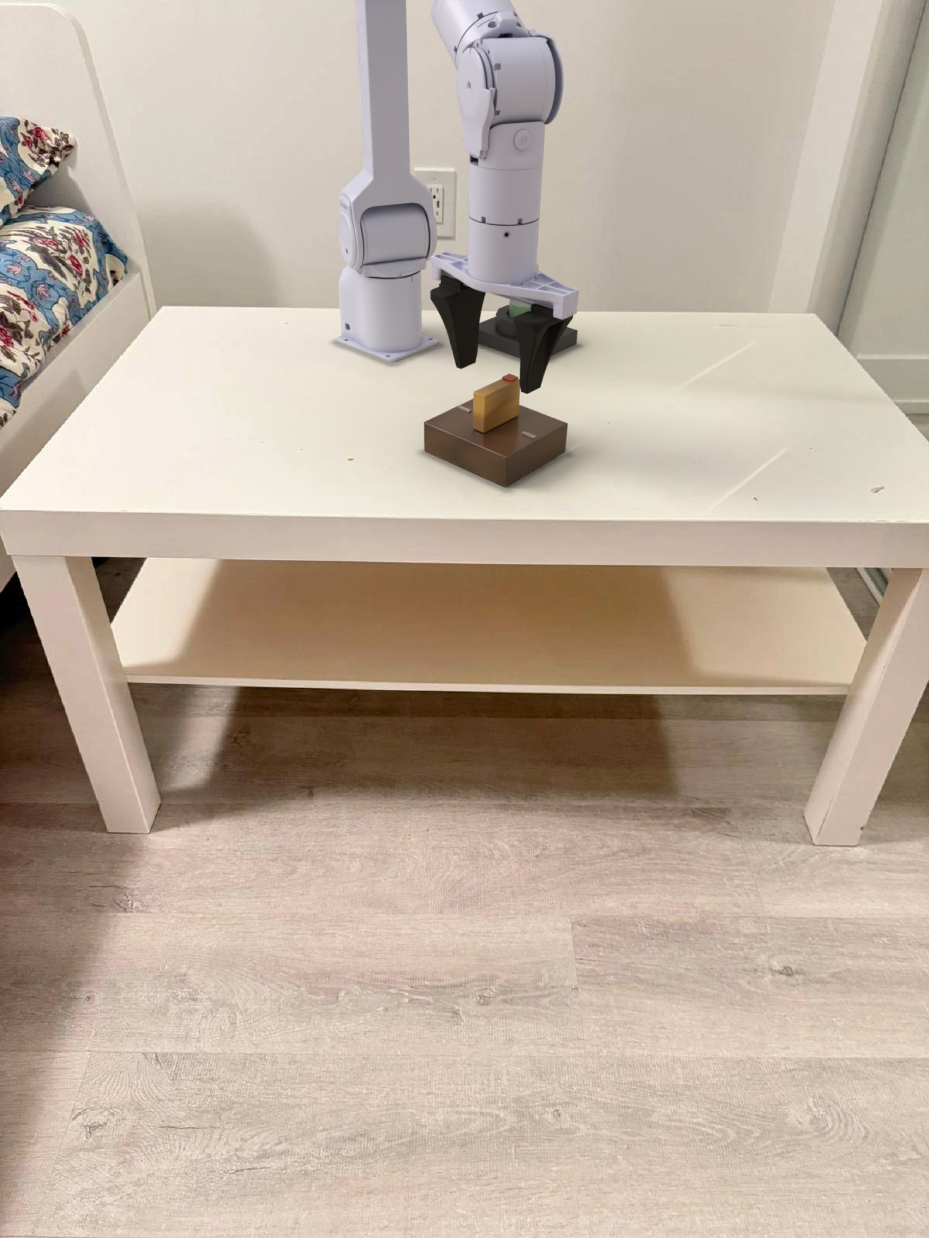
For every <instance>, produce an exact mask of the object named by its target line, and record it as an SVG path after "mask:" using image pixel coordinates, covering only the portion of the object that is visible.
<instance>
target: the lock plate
mask: <svg viewBox="0 0 929 1238" xmlns="http://www.w3.org/2000/svg"><path fill="white" fill-rule="evenodd" d="M568 427H569V423H568V422H566V421H563V420H560V419H558V418H555V417H552V416H550V415H547V414H545V413H542V412H539V411H537V410H534V409H532V408H529V407H526V406H524V405H521V404H519V415H518V416H516V417H514V418H512V419H510V420H508V421H507V422H505V423H503V424H501V425H499V426H497V427H495V428H493V429H491V430H489V431H487V432H485V433H483V432H480V431H478V430H476V429H473V398H471V399H469V400H467V401H465V402H463V403H460V404H458V405H456V406H454V407H452V408H450V409H448V410H446V411H444V412H442V413H440V414H437V415H435V416H434V417H432V418H429V419H428V420H426V421H424V422H423V447H424V448H423V450H424V452H426V453H428V454H431V455H432V456H435V457H437V458H439V459H442V460H444V461H446V462H448V463H450V464H453V465H455V466H457V467H459V468H461V469H464V470H466V471H468V472H471V473H473V474H474V475H475V474H476V475H477V476H479V477H482V478H484V479H486V480H489V481H491V482H493V483H495V484H498V485H500V486H501V487H504V488H506V487H508V486H510V485H511V484H514V483H516V482H517V481H518V480H520V479H522V478H524V477H525V476H527V475H528V474H530V473H532V472H534V471H535V470H537V469H539V468H541V467H542V466H544V465H545V464H548V463H549V462H550V461H552V460H554V459H556V458H557V457H559V456H561V455H562V454H564V453H566V451H567V450H566V449H567V437H568Z"/></svg>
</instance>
